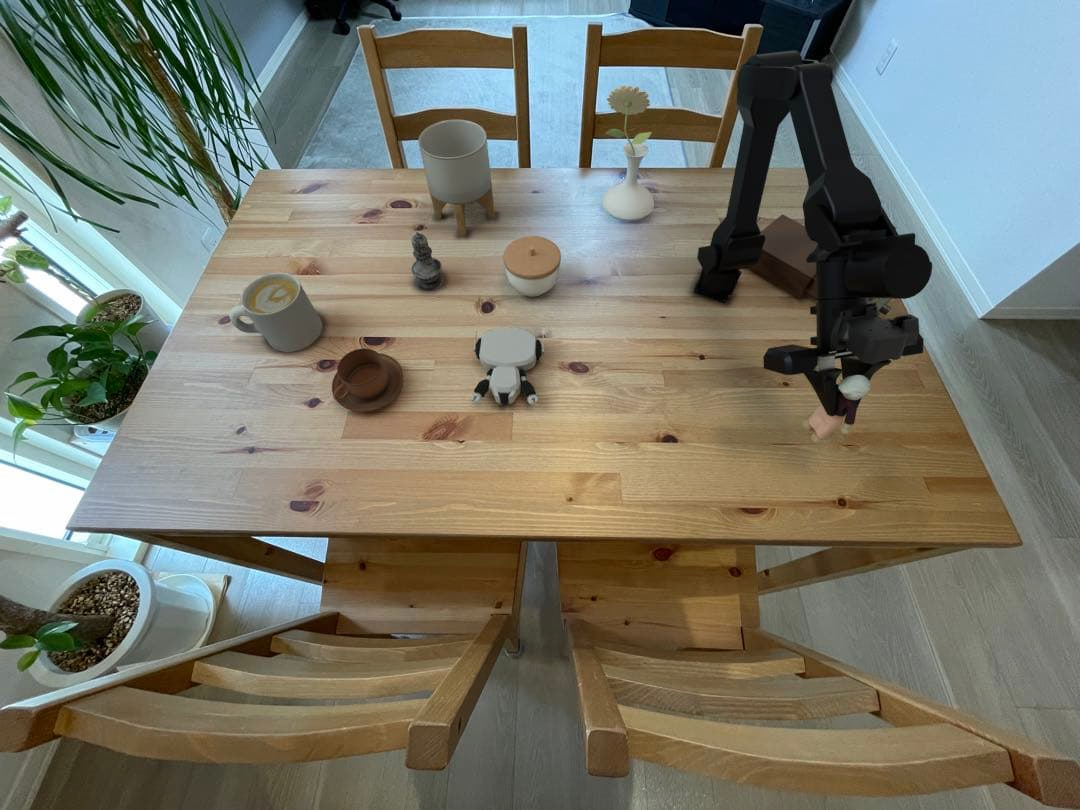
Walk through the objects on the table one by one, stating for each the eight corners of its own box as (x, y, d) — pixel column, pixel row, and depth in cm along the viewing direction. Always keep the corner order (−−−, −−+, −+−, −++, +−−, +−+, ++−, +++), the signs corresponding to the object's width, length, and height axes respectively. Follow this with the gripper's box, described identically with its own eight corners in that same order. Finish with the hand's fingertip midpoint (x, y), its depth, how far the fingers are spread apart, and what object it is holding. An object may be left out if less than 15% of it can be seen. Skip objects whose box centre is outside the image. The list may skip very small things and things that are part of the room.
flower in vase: (661, 203, 114) (687, 83, 92) (638, 232, 109) (659, 113, 87) (609, 184, 118) (622, 65, 96) (585, 212, 112) (593, 93, 91)
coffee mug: (325, 309, 98) (304, 270, 90) (318, 349, 93) (295, 312, 85) (255, 314, 98) (227, 275, 89) (243, 355, 93) (213, 318, 84)
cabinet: (830, 269, 102) (844, 247, 97) (798, 299, 98) (811, 277, 93) (772, 236, 107) (782, 214, 103) (739, 263, 103) (748, 241, 98)
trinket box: (530, 314, 97) (528, 277, 89) (494, 284, 101) (490, 246, 93) (571, 286, 100) (573, 249, 92) (535, 258, 105) (534, 220, 97)
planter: (493, 236, 109) (483, 157, 94) (432, 236, 109) (413, 158, 94) (496, 198, 116) (488, 119, 100) (439, 198, 116) (423, 119, 101)
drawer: (896, 303, 96) (908, 289, 92) (868, 333, 92) (880, 319, 89) (830, 266, 101) (839, 251, 98) (801, 293, 97) (809, 278, 94)
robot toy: (541, 413, 86) (544, 339, 93) (541, 400, 82) (544, 324, 89) (469, 411, 87) (478, 338, 93) (465, 398, 83) (474, 323, 89)
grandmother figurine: (843, 444, 74) (896, 397, 63) (823, 454, 73) (873, 408, 62) (807, 403, 77) (851, 352, 67) (787, 412, 76) (829, 362, 66)
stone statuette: (410, 287, 101) (394, 238, 91) (424, 267, 104) (410, 218, 94) (436, 295, 100) (423, 246, 90) (450, 275, 103) (439, 225, 93)
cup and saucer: (384, 425, 84) (373, 405, 79) (322, 404, 87) (307, 384, 81) (417, 370, 90) (409, 348, 85) (359, 352, 93) (347, 329, 87)
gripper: (813, 310, 56) (814, 443, 60) (967, 286, 58) (959, 417, 62) (759, 306, 67) (763, 419, 71) (890, 286, 69) (887, 397, 73)
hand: (841, 413), depth 69 cm, fingers closed on grandmother figurine, 3 cm apart
